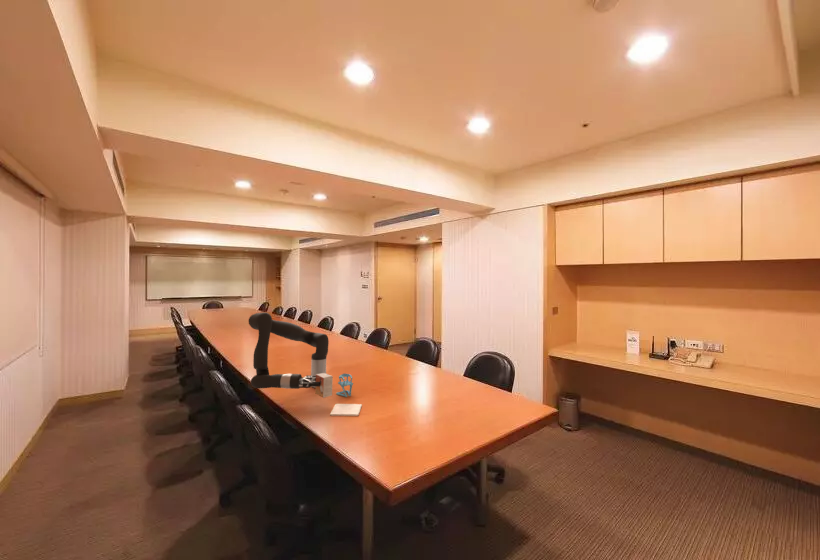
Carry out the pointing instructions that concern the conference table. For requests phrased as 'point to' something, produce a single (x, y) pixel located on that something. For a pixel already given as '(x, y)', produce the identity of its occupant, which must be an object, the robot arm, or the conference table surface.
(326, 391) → the small box
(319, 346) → the robot arm
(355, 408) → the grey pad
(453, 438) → the conference table surface
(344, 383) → the chair
